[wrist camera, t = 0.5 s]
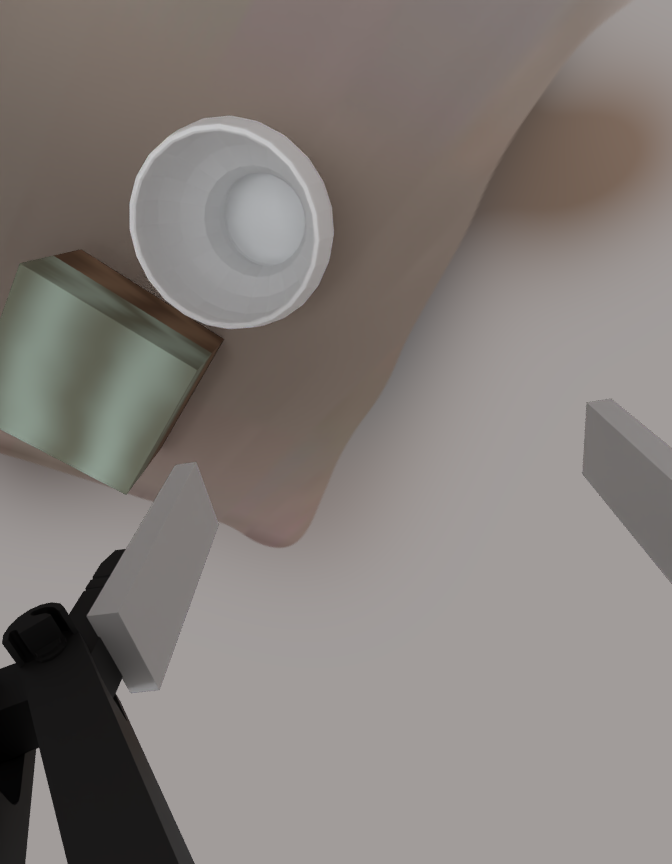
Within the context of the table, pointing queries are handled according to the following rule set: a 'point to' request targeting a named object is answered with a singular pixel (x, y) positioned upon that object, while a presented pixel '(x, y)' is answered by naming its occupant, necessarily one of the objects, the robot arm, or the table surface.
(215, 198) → the cup
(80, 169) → the table surface
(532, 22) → the table surface
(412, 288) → the table surface
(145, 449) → the tower base
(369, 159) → the table surface
